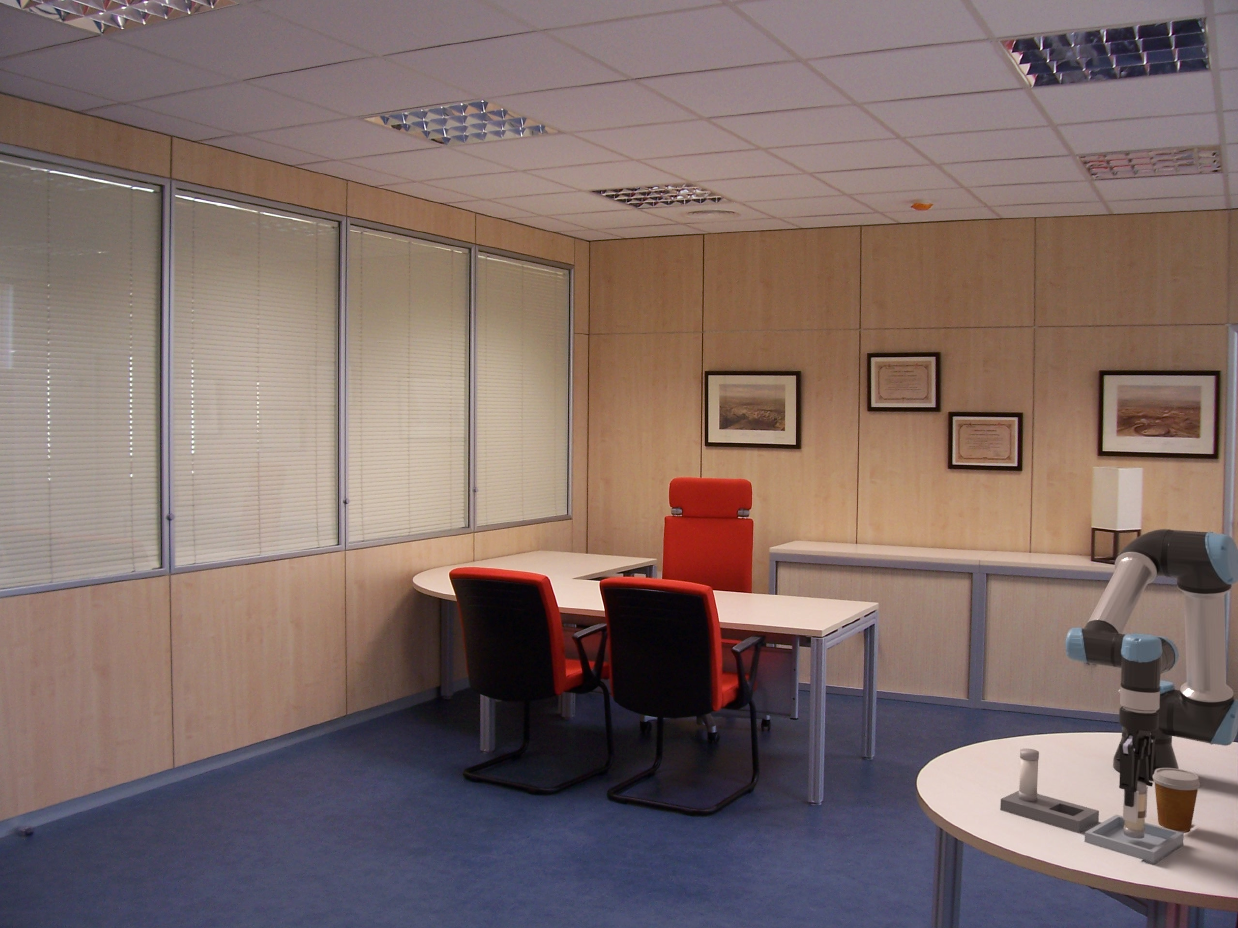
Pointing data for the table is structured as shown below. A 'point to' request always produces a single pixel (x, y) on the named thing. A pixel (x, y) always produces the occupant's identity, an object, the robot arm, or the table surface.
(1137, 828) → the fuse
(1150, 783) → the robot arm
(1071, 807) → the grey slotted block
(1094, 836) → the parts tray
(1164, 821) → the disposable coffee cup
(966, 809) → the table surface
